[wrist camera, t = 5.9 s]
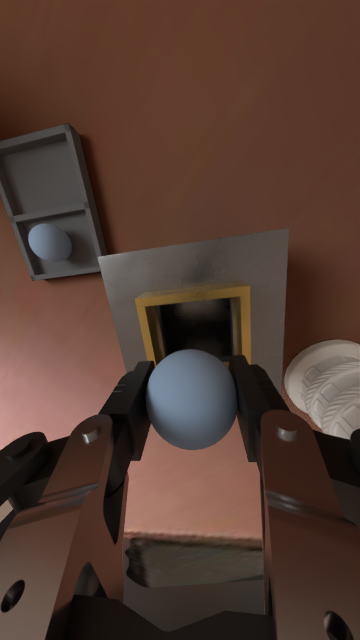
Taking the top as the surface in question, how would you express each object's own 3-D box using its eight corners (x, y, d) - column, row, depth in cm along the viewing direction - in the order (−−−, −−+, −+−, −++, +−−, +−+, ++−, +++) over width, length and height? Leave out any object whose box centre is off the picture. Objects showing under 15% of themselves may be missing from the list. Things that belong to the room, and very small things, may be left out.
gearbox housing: (251, 241, 21) (309, 220, 10) (253, 369, 26) (292, 447, 15) (135, 258, 23) (78, 256, 12) (157, 374, 28) (132, 447, 17)
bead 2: (240, 336, 8) (231, 398, 5) (241, 404, 10) (235, 492, 6) (163, 334, 10) (114, 379, 6) (173, 393, 11) (137, 458, 8)
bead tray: (78, 134, 19) (68, 123, 18) (111, 269, 23) (105, 270, 22) (-2, 154, 21) (-18, 145, 19) (42, 279, 25) (32, 280, 23)
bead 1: (73, 224, 22) (46, 217, 18) (83, 259, 23) (60, 259, 19) (43, 229, 22) (11, 223, 18) (54, 263, 23) (26, 264, 19)
